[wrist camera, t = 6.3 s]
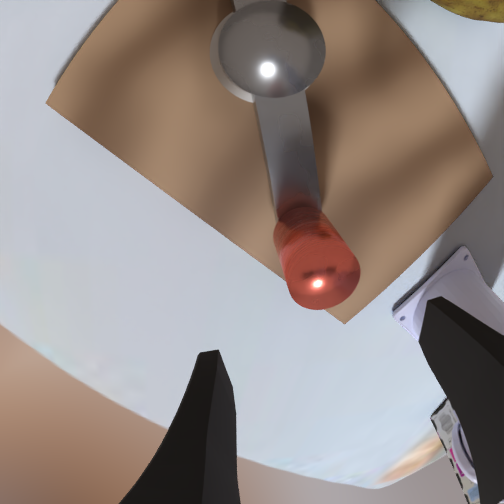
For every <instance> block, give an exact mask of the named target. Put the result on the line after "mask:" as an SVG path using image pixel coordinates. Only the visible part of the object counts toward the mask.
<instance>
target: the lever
mask: <svg viewBox="0 0 504 504" xmlns="http://www.w3.org/2000/svg"><path fill="white" fill-rule="evenodd" d="M231 5H232V9H233V13H234V14H232V15H231V17H230V18H229V19H228V20H227V21H226V23H225V24H224V26H223V28H222V30H221V33H220V37H219V42H218V55H219V61H220V65H221V67H222V70H223V72H224V73H225V75H226V76H227V78H228V79H229V80H230V81H231V82H232V83H233V84H234V85H235V86H237V87H238V88H240V89H241V90H243V91H245V92H248V93H250V94H251V96H252V101H253V106H254V110H255V115H256V120H257V125H258V130H259V135H260V141H261V146H262V151H263V156H264V161H265V166H266V172H267V177H268V182H269V188H270V193H271V198H272V204H273V209H274V215H275V220H276V226H275V228H274V232H273V242H274V245H275V248H276V251H277V254H278V258H279V261H280V264H281V267H282V270H283V273H284V276H285V279H286V282H287V286H288V289H289V292H290V294H291V296H292V298H293V299H294V301H295V302H296V303H298V304H299V305H301V306H302V307H305V308H308V309H313V310H322V309H328V308H331V307H334V306H336V305H338V304H340V303H342V302H343V301H345V300H346V299H347V298H348V297H349V296H350V295H351V294H352V293H353V292H354V290H355V289H356V287H357V285H358V283H359V280H360V274H361V270H360V264H359V262H358V260H357V258H356V257H355V255H354V254H353V252H352V251H351V250H350V248H349V247H348V245H347V244H346V243H345V241H344V240H343V238H342V237H341V236H340V234H339V233H338V231H337V230H336V229H335V227H334V226H333V224H332V223H331V222H330V220H329V219H328V218H327V216H326V215H325V214H324V213H323V212H322V207H321V199H320V190H319V182H318V174H317V166H316V159H315V151H314V144H313V138H312V131H311V124H310V118H309V112H308V106H307V100H306V94H305V88H307V87H308V86H309V85H310V84H312V83H313V82H314V80H315V79H316V78H317V77H318V75H319V74H320V72H321V70H322V68H323V65H324V62H325V56H326V46H325V40H324V37H323V34H322V32H321V29H320V28H319V26H318V24H317V23H316V22H315V21H314V19H313V18H312V17H311V16H310V15H309V14H308V13H306V12H305V11H304V10H302V9H300V8H299V7H297V6H295V5H292V4H290V3H287V1H286V0H231Z"/></svg>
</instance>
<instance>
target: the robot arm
mask: <svg viewBox="0 0 504 504" xmlns="http://www.w3.org/2000/svg"><path fill="white" fill-rule="evenodd" d="M392 316H393V318H394V319H395V320H396V321H397V322H398V323H399V324H400V325H401V326H402V327H403V328H404V329H405V330H406V331H408V332H409V333H410V334H411V335H412V336H413V337H414V338H415V339H416V340H417V341H418V342H419V344H420V346H421V348H422V351H423V353H424V356H425V358H426V360H427V362H428V365H429V366H430V368H431V370H432V372H433V373H434V375H435V377H436V379H437V380H438V382H439V384H440V385H441V387H442V389H443V391H444V392H445V394H446V396H447V398H448V400H449V401H450V403H451V405H452V407H453V408H454V410H453V413H454V415H455V417H456V419H457V422H456V423H455V424H454V426H453V429H452V450H453V454H454V457H455V460H456V462H457V464H458V466H459V467H460V469H461V470H462V472H463V473H464V474H465V476H466V477H467V478H468V479H469V480H471V481H472V482H474V483H476V484H478V491H479V499H480V504H498V503H504V302H503V301H502V300H501V299H500V298H499V297H498V296H497V295H496V294H495V293H494V292H493V291H492V290H491V288H490V287H489V286H488V285H487V284H486V283H485V281H484V279H483V277H482V275H481V273H480V271H479V269H478V267H477V265H476V263H475V261H474V259H473V257H472V256H471V254H470V252H469V250H468V249H467V248H466V247H465V246H462V247H460V248H459V249H458V250H457V251H456V252H455V253H454V254H453V255H452V256H451V258H450V259H449V260H448V261H447V262H446V263H445V264H444V265H443V266H442V267H441V268H440V269H439V270H438V271H437V272H436V273H435V274H433V275H432V276H431V277H430V278H429V279H428V280H427V281H426V282H425V283H424V284H423V285H422V286H421V287H420V288H419V289H418V290H417V291H416V292H415V293H413V294H412V295H411V296H410V297H409V298H408V299H407V300H406V301H405V302H404V303H402V304H401V305H400V306H399V307H398V308H397V309H396V310H395V311H394V312H393V314H392ZM119 504H241V503H240V496H239V489H238V481H237V447H236V409H235V401H234V393H233V386H232V384H231V381H230V379H229V376H228V373H227V371H226V368H225V365H224V363H223V360H222V357H221V355H220V352H219V350H213V351H207V352H201V353H199V355H198V357H197V360H196V363H195V366H194V369H193V372H192V375H191V378H190V381H189V384H188V386H187V389H186V391H185V394H184V396H183V399H182V401H181V404H180V406H179V408H178V411H177V413H176V415H175V417H174V419H173V421H172V423H171V425H170V427H169V429H168V432H167V434H166V435H165V437H164V439H163V441H162V443H161V445H160V446H159V448H158V450H157V452H156V453H155V455H154V457H153V458H152V460H151V462H150V463H149V464H148V466H147V468H146V469H145V470H144V472H143V473H142V475H141V476H140V478H139V479H138V481H137V482H136V483H135V485H134V486H133V487H132V488H131V490H130V491H129V492H128V493H127V494H126V496H125V497H124V498H123V499H122V500H121V502H120V503H119Z"/></svg>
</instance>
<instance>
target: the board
mask: <svg viewBox="0 0 504 504" xmlns="http://www.w3.org/2000/svg"><path fill="white" fill-rule="evenodd" d="M286 1H287V3H290V4H292V5H295V6H297V7H299V8H300V9H302V10H304V11H305V12H306V13H308V14H309V15H310V16H311V17H312V18H313V19H314V21H315V22H316V23H317V24H318V26H319V28H320V29H321V32H322V34H323V37H324V40H325V46H326V56H325V62H324V65H323V68H322V70H321V72H320V74H319V75H318V77H317V78H316V79H315V80H314V82H313V83H312V84H310V85H309V86H308V87H307V88H305V94H306V100H307V106H308V112H309V118H310V124H311V131H312V138H313V144H314V151H315V159H316V166H317V174H318V182H319V190H320V199H321V207H322V212H323V213H324V214H325V215H326V216H327V218H328V219H329V220H330V222H331V223H332V224H333V226H334V227H335V229H336V230H337V231H338V233H339V234H340V236H341V237H342V238H343V240H344V241H345V243H346V244H347V245H348V247H349V248H350V250H351V251H352V252H353V254H354V255H355V257H356V258H357V260H358V262H359V264H360V270H361V274H360V280H359V283H358V285H357V287H356V289H355V290H354V292H353V293H352V294H351V295H350V296H349V297H348V298H347V299H346V300H345V301H343V302H342V303H340V304H338V305H336V306H334V307H331V308H328V309H324V310H326V311H327V312H328V313H330V314H331V315H333V316H334V317H335V318H337V319H338V320H339V321H341V322H342V323H343V324H346V323H347V322H348V321H349V320H350V319H352V318H353V317H354V316H355V315H356V314H357V313H359V312H360V311H361V310H362V309H363V308H364V307H366V306H367V305H368V304H369V303H370V302H371V301H372V300H374V299H375V298H376V297H377V296H378V295H379V294H380V293H381V292H382V291H384V290H385V289H386V288H387V287H388V286H389V285H390V284H391V283H392V282H393V281H394V280H396V279H397V278H398V277H399V276H400V275H401V274H402V273H403V272H404V271H405V270H406V269H407V268H408V267H409V266H410V265H411V264H412V263H413V262H414V261H416V260H417V259H418V258H419V257H420V256H421V255H422V254H423V253H424V252H425V251H426V250H427V249H428V248H429V247H430V246H431V245H432V244H433V243H434V242H435V241H436V240H437V239H438V237H439V236H440V235H441V234H442V233H443V232H444V231H445V230H446V229H447V228H448V227H449V226H450V225H451V224H452V223H453V222H454V221H455V220H456V218H457V217H458V216H459V215H460V214H461V213H462V212H463V211H464V210H465V209H466V208H467V206H468V205H469V204H470V203H471V202H472V201H473V200H474V199H475V197H476V196H477V195H478V194H479V193H480V192H481V191H482V189H483V188H484V187H485V186H486V185H487V183H488V182H489V181H490V180H491V179H492V177H493V175H492V173H491V171H490V169H489V166H488V164H487V162H486V160H485V158H484V156H483V154H482V152H481V150H480V148H479V146H478V144H477V142H476V140H475V138H474V136H473V135H472V133H471V131H470V129H469V127H468V125H467V124H466V122H465V120H464V118H463V117H462V115H461V113H460V112H459V110H458V108H457V107H456V105H455V103H454V102H453V100H452V99H451V97H450V95H449V94H448V92H447V91H446V89H445V88H444V86H443V85H442V83H441V82H440V80H439V79H438V77H437V76H436V74H435V73H434V71H433V70H432V69H431V67H430V66H429V64H428V63H427V62H426V60H425V59H424V58H423V56H422V55H421V54H420V52H419V51H418V50H417V48H416V47H415V46H414V44H413V43H412V42H411V41H410V39H409V38H408V37H407V36H406V34H405V33H404V32H403V31H402V30H401V28H400V27H399V26H398V25H397V24H396V23H395V21H394V20H393V19H392V18H391V17H390V16H389V15H388V14H387V12H386V11H385V10H384V9H383V8H382V7H381V6H380V5H379V4H378V3H377V2H376V1H375V0H286ZM232 14H234V13H233V9H232V5H231V0H118V2H117V3H116V4H115V5H114V6H113V7H112V8H111V10H110V11H109V12H108V13H107V14H106V16H105V17H104V18H103V19H102V21H101V22H100V23H99V24H98V26H97V27H96V28H95V29H94V31H93V32H92V33H91V35H90V36H89V37H88V39H87V40H86V41H85V43H84V44H83V45H82V47H81V48H80V50H79V51H78V52H77V54H76V55H75V57H74V58H73V60H72V61H71V63H70V64H69V66H68V67H67V69H66V70H65V72H64V73H63V75H62V76H61V78H60V80H59V81H58V83H57V84H56V86H55V88H54V89H53V91H52V93H51V94H50V96H49V98H48V100H47V101H46V104H47V105H48V106H50V107H51V108H52V109H54V110H55V111H56V112H58V113H59V114H60V115H62V116H63V117H64V118H66V119H67V120H68V121H70V122H71V123H73V124H74V125H75V126H77V127H78V128H79V129H81V130H82V131H83V132H85V133H86V134H87V135H89V136H90V137H91V138H93V139H94V140H95V141H97V142H98V143H99V144H101V145H102V146H103V147H105V148H106V149H107V150H109V151H110V152H111V153H113V154H114V155H116V156H117V157H118V158H120V159H121V160H122V161H124V162H125V163H126V164H128V165H129V166H130V167H132V168H133V169H134V170H136V171H137V172H138V173H140V174H141V175H142V176H144V177H145V178H147V179H148V180H149V181H151V182H152V183H153V184H155V185H156V186H157V187H159V188H160V189H161V190H163V191H164V192H165V193H167V194H168V195H170V196H171V197H172V198H174V199H175V200H176V201H178V202H179V203H180V204H182V205H183V206H184V207H186V208H187V209H188V210H190V211H191V212H192V213H194V214H195V215H197V216H198V217H199V218H201V219H202V220H203V221H205V222H206V223H207V224H209V225H210V226H211V227H213V228H214V229H216V230H217V231H218V232H220V233H221V234H222V235H224V236H225V237H226V238H228V239H229V240H230V241H232V242H233V243H235V244H236V245H237V246H239V247H240V248H241V249H243V250H244V251H245V252H247V253H248V254H249V255H251V256H252V257H254V258H255V259H256V260H258V261H259V262H260V263H262V264H263V265H264V266H266V267H267V268H268V269H270V270H271V271H273V272H274V273H275V274H277V275H278V276H279V277H281V278H282V279H283V280H285V281H286V279H285V276H284V273H283V270H282V267H281V264H280V261H279V258H278V254H277V251H276V248H275V245H274V242H273V232H274V228H275V226H276V220H275V215H274V209H273V204H272V198H271V193H270V188H269V182H268V177H267V172H266V166H265V161H264V156H263V151H262V146H261V141H260V135H259V130H258V125H257V120H256V115H255V110H254V106H253V101H252V96H251V94H250V93H248V92H245V91H243V90H241V89H240V88H238V87H237V86H235V85H234V84H233V83H232V82H231V81H230V80H229V79H228V78H227V76H226V75H225V73H224V72H223V70H222V67H221V65H220V61H219V55H218V42H219V37H220V33H221V30H222V28H223V26H224V24H225V23H226V21H227V20H228V19H229V18H230V17H231V15H232Z"/></svg>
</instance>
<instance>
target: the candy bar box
mask: <svg viewBox="0 0 504 504" xmlns="http://www.w3.org/2000/svg"><path fill="white" fill-rule="evenodd" d="M453 410H454V408H453V407H452V405H451V403H450V401H449V400H448V399H447V400H446V401H445V402H444V403H443V404H442V405H441V407H440V408H439V409H438V410H437V411H436V412H435V413H434V414H433V415H432V416H431V418H430V419H431V421H432V423H433V425H434V427H435V429H436V431H437V433H438V435H439V438H440V440H441V442H442V444H443V446H444V448H445V450H446V453H447V455H448V457H449V459H450V462H451V464H452V466H453V468H454V471H455V473H456V476H457V478H458V480H459V483H460V485H461V488H462V490H463V493H464V495H465V497H466V500H467V502H468V504H480V499H479V491H478V484H476V483H474V482H472V481H471V480H469V479H468V478H467V477H466V476H465V474H464V473H463V472H462V470H461V469H460V467H459V466H458V464H457V462H456V460H455V457H454V454H453V450H452V429H453V426H454V424H455V423H456V422H457V419H456V417H455V415H454V413H453Z"/></svg>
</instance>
